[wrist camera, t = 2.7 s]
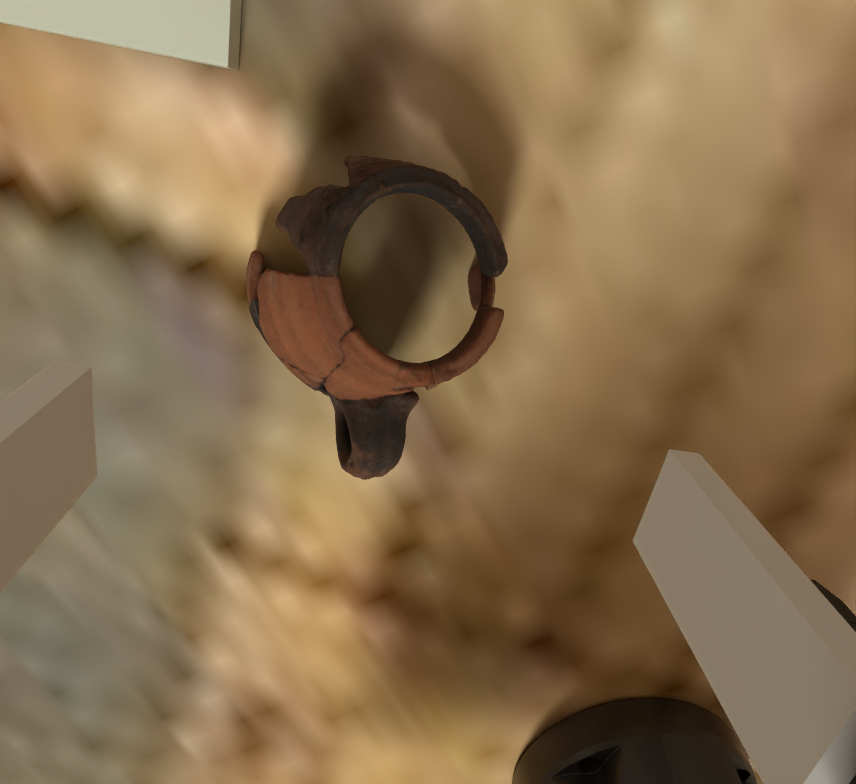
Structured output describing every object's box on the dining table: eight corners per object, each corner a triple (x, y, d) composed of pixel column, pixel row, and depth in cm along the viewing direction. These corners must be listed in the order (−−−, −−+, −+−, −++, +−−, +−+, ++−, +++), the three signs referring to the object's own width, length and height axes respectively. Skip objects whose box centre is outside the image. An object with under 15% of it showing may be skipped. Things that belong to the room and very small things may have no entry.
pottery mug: (216, 184, 24) (266, 129, 17) (423, 187, 29) (532, 144, 21) (253, 472, 26) (311, 531, 19) (441, 433, 31) (546, 470, 23)
